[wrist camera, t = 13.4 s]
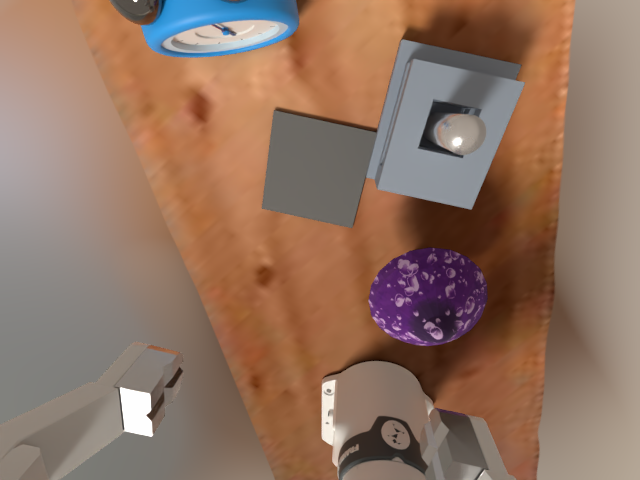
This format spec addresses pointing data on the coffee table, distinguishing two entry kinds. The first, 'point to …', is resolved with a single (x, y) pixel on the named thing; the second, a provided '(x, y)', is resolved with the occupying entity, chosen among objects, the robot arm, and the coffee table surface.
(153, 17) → the alarm clock
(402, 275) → the decorative mushroom
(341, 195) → the rubber mat
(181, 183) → the coffee table surface
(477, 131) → the steel pin
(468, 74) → the grey block with hole
